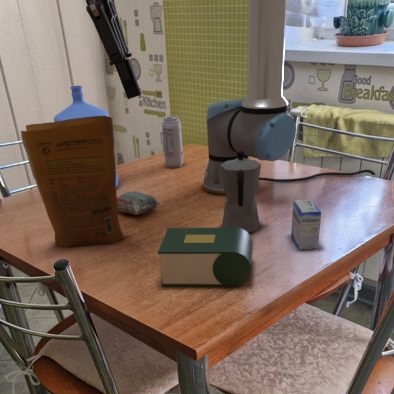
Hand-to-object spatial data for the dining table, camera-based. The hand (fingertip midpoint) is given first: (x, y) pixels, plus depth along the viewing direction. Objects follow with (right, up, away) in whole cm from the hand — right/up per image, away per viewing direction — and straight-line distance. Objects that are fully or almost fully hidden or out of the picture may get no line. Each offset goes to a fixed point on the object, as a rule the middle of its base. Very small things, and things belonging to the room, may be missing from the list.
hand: (134, 96), depth 103 cm
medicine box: (+37, -26, +15) cm, 48 cm away
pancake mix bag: (-13, -25, +21) cm, 35 cm away
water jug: (-19, -1, +55) cm, 59 cm away
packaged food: (-4, -14, +36) cm, 39 cm away
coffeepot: (+23, -21, +23) cm, 39 cm away
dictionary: (+15, -34, +5) cm, 38 cm away
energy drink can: (+5, +11, +70) cm, 71 cm away
